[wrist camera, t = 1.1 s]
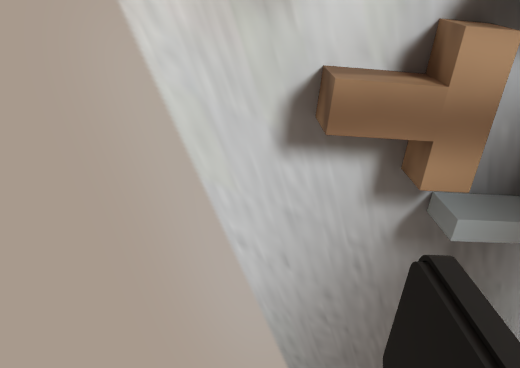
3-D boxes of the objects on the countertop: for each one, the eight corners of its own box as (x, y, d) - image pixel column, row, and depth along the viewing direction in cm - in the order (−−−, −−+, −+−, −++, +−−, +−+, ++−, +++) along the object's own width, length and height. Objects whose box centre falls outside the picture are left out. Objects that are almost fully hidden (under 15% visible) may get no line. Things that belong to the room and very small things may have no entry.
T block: (332, 8, 24) (346, 14, 21) (491, 23, 25) (523, 31, 22) (308, 163, 28) (317, 185, 25) (446, 170, 29) (469, 192, 26)
